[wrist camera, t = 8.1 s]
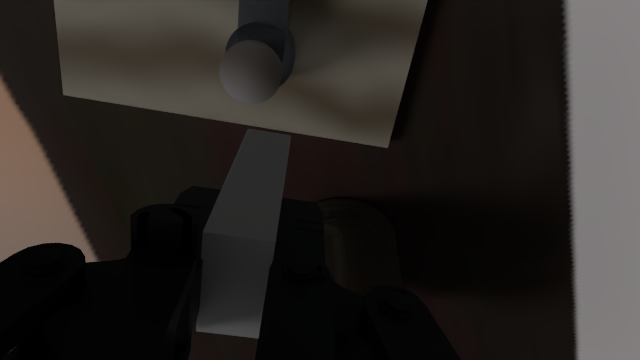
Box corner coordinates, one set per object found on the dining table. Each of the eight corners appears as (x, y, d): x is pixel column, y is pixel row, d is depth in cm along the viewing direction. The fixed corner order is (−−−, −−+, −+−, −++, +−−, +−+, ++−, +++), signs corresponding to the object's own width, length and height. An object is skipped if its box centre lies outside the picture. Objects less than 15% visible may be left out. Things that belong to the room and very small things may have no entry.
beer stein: (254, 258, 41) (229, 496, 23) (311, 172, 37) (331, 384, 19) (384, 311, 45) (443, 542, 28) (448, 240, 41) (564, 460, 24)
